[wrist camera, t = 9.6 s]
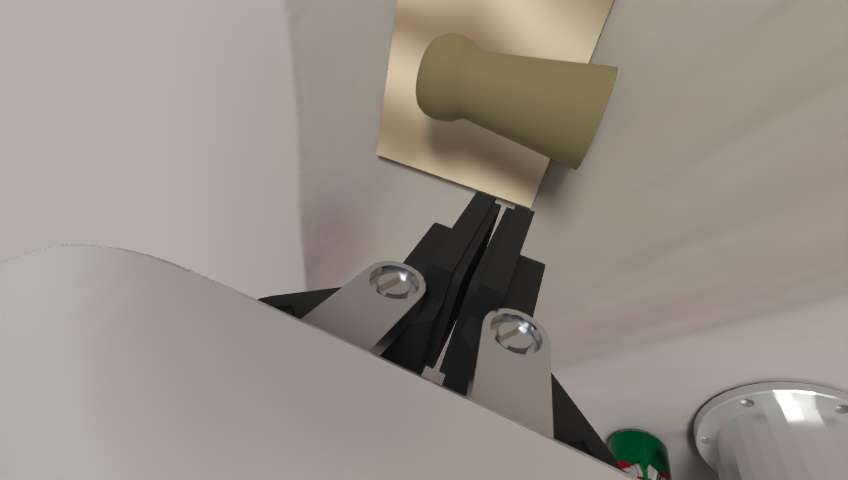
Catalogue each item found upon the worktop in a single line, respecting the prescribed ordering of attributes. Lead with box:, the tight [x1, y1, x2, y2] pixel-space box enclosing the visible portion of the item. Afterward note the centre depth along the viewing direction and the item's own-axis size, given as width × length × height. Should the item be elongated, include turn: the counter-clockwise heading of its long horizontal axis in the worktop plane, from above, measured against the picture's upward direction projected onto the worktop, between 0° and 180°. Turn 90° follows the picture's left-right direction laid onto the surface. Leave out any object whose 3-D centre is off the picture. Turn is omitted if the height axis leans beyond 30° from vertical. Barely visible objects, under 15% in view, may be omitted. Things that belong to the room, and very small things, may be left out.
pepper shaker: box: [416, 33, 618, 170], centre depth 25 cm, size 6×6×11 cm
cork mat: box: [376, 0, 614, 208], centre depth 28 cm, size 18×13×1 cm
